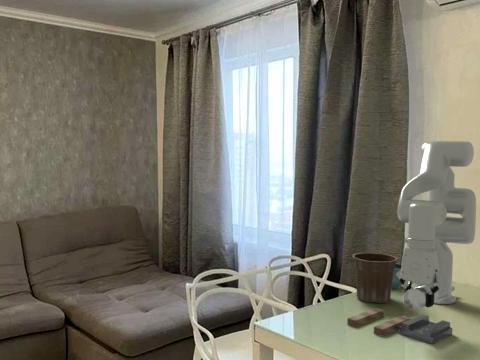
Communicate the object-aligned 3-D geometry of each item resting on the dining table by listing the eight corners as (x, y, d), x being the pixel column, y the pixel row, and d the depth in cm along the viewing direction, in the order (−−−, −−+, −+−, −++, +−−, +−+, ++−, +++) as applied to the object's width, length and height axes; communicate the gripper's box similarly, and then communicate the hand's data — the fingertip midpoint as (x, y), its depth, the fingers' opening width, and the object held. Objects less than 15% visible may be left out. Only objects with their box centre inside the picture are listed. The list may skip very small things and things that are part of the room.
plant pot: (366, 290, 201) (367, 250, 200) (403, 299, 189) (405, 257, 188) (343, 298, 190) (344, 256, 188) (381, 308, 178) (383, 263, 177)
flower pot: (401, 291, 199) (402, 269, 199) (379, 287, 204) (380, 266, 204) (407, 286, 207) (407, 264, 206) (385, 282, 212) (386, 261, 211)
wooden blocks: (375, 313, 172) (376, 307, 172) (410, 324, 163) (410, 318, 162) (347, 324, 162) (347, 318, 162) (382, 335, 152) (382, 329, 152)
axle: (430, 297, 161) (431, 278, 160) (448, 302, 156) (449, 283, 156) (403, 306, 151) (404, 287, 150) (421, 312, 146) (422, 292, 146)
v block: (419, 324, 162) (419, 313, 162) (452, 334, 154) (452, 323, 154) (398, 333, 155) (399, 322, 154) (432, 344, 146) (432, 332, 146)
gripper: (388, 241, 153) (386, 299, 155) (442, 250, 140) (440, 313, 142) (402, 238, 158) (400, 295, 159) (455, 247, 145) (452, 308, 146)
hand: (418, 303), depth 151 cm, fingers closed on axle, 6 cm apart
